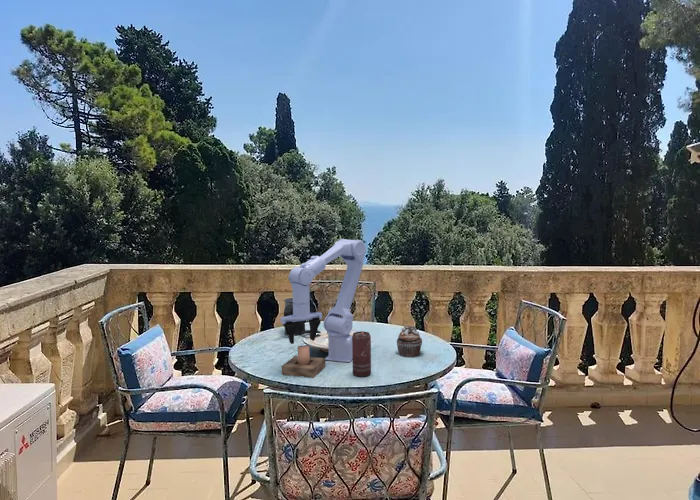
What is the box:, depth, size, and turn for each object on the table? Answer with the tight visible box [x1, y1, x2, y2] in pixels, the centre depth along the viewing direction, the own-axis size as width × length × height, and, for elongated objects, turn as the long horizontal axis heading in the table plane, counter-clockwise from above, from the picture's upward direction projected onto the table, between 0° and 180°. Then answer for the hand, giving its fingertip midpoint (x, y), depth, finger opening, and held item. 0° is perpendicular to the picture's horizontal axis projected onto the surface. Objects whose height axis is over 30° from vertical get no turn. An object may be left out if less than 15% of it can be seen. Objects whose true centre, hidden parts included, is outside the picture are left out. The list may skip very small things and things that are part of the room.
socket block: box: [281, 355, 326, 379], centre depth 178 cm, size 11×11×3 cm
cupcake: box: [396, 326, 423, 358], centre depth 195 cm, size 10×10×10 cm
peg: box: [297, 344, 311, 365], centre depth 178 cm, size 4×4×8 cm
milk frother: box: [283, 297, 322, 336], centre depth 224 cm, size 14×16×15 cm
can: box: [352, 330, 372, 378], centre depth 174 cm, size 6×6×14 cm
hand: (302, 341), depth 179 cm, fingers open, 7 cm apart
